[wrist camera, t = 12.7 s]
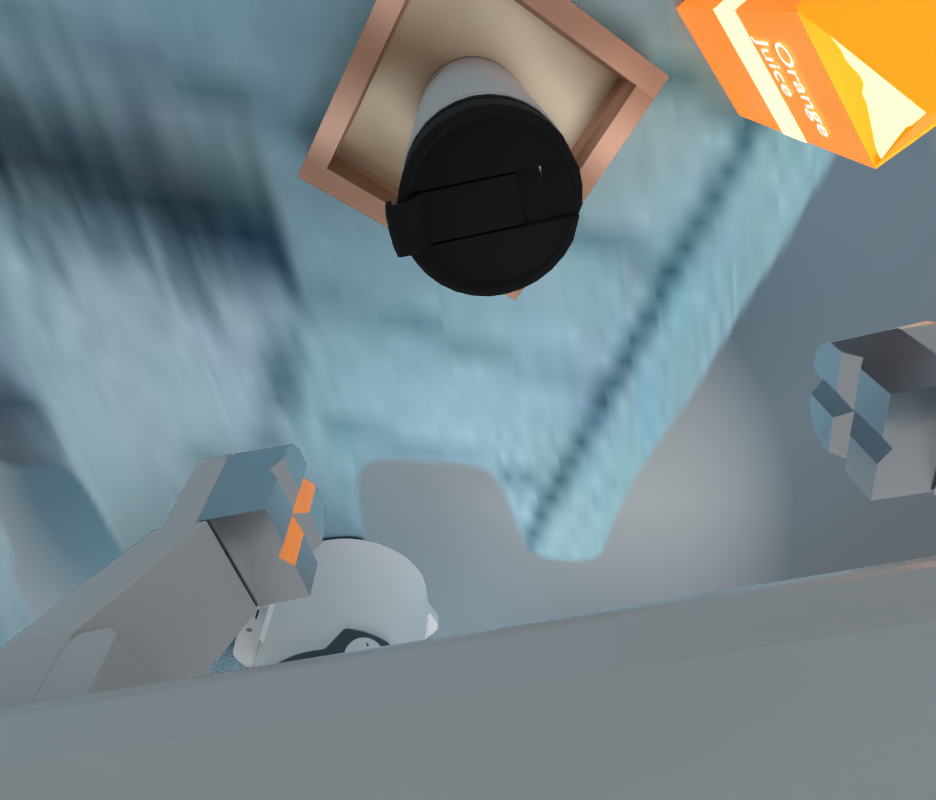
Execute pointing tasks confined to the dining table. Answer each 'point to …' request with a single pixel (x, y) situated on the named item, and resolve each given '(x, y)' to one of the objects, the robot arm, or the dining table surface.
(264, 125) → the dining table surface
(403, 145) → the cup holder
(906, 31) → the orange juice
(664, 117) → the dining table surface
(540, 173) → the travel mug
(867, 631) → the robot arm
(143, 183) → the dining table surface
